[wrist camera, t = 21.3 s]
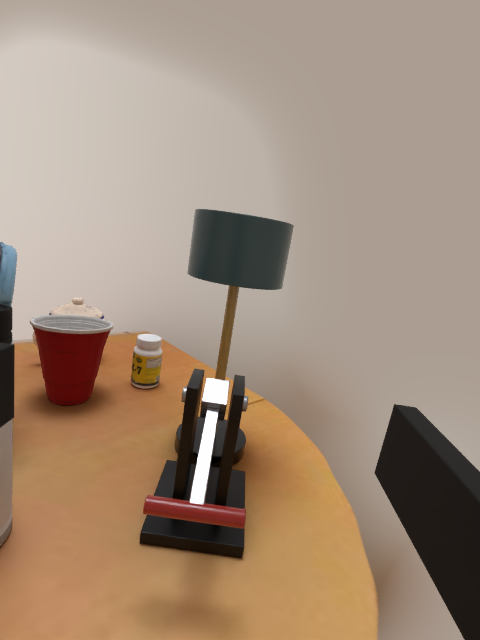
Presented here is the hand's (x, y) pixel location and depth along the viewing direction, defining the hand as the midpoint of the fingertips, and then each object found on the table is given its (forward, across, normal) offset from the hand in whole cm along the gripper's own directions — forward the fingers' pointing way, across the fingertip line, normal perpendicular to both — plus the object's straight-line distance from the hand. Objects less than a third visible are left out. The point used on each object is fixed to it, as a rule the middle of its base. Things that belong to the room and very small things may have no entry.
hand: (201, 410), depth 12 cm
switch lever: (+15, 0, -12) cm, 19 cm away
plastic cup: (+36, -22, -21) cm, 48 cm away
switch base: (+18, 0, -21) cm, 28 cm away
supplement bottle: (+44, -13, -21) cm, 51 cm away
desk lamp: (+29, 0, -21) cm, 36 cm away
